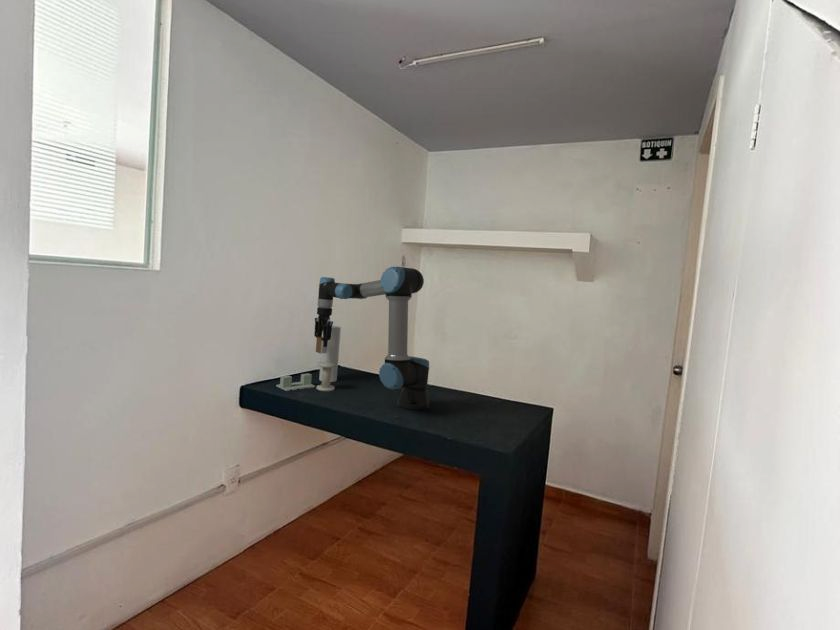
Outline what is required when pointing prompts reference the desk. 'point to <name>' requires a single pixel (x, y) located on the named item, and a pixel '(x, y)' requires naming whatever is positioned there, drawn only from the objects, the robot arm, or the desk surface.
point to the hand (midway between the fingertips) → (321, 351)
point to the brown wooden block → (319, 344)
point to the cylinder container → (332, 352)
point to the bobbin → (326, 376)
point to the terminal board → (288, 385)
